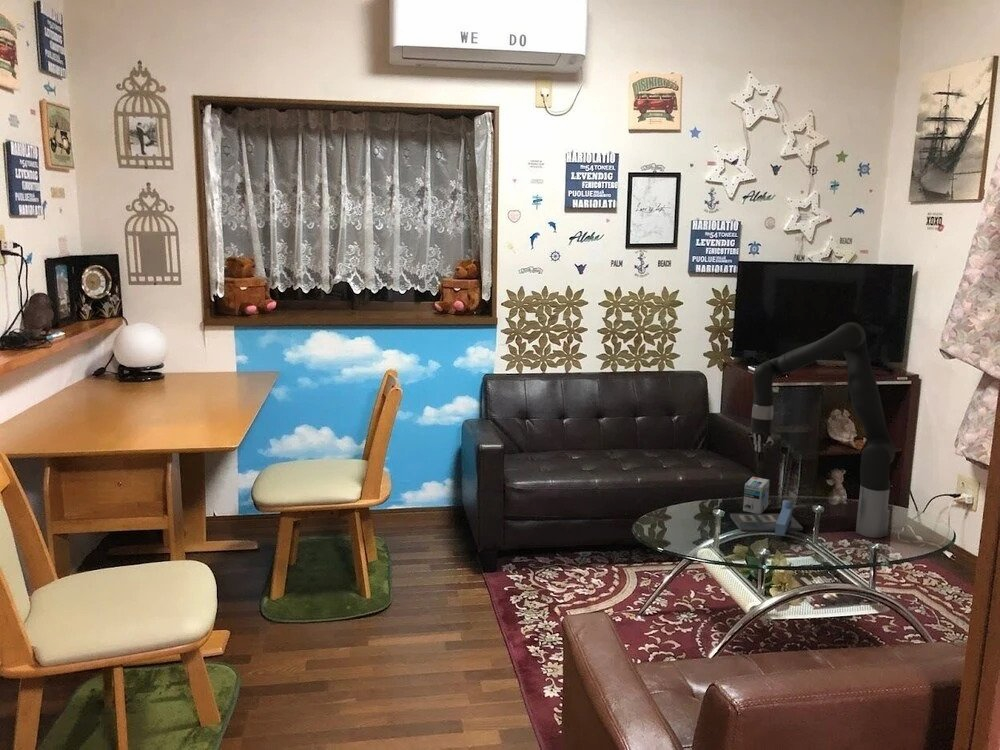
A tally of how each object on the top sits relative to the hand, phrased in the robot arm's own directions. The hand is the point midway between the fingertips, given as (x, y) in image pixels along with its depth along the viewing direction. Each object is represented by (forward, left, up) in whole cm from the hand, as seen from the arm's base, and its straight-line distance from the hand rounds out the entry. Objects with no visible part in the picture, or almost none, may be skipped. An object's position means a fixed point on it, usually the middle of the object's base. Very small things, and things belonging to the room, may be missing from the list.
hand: (759, 460), depth 298 cm
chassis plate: (+1, +14, -19) cm, 24 cm away
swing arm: (-3, +20, -17) cm, 27 cm away
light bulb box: (0, 0, -19) cm, 19 cm away
